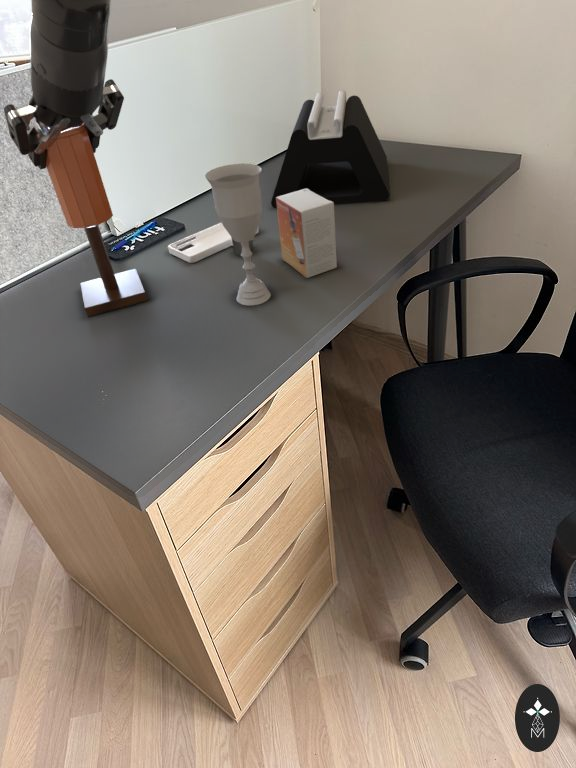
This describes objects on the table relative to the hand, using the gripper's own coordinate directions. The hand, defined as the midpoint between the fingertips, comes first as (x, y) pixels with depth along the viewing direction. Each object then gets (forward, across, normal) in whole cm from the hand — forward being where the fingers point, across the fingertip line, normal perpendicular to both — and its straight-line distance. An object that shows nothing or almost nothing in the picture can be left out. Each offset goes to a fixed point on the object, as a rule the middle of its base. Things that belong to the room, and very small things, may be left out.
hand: (64, 155), depth 75 cm
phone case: (+17, -22, +13) cm, 31 cm away
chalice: (+3, -14, +28) cm, 31 cm away
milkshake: (+12, -22, +18) cm, 31 cm away
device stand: (+20, -54, +11) cm, 58 cm away
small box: (+3, -26, +27) cm, 38 cm away
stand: (+15, 0, +15) cm, 21 cm away
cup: (+5, 0, +7) cm, 9 cm away
